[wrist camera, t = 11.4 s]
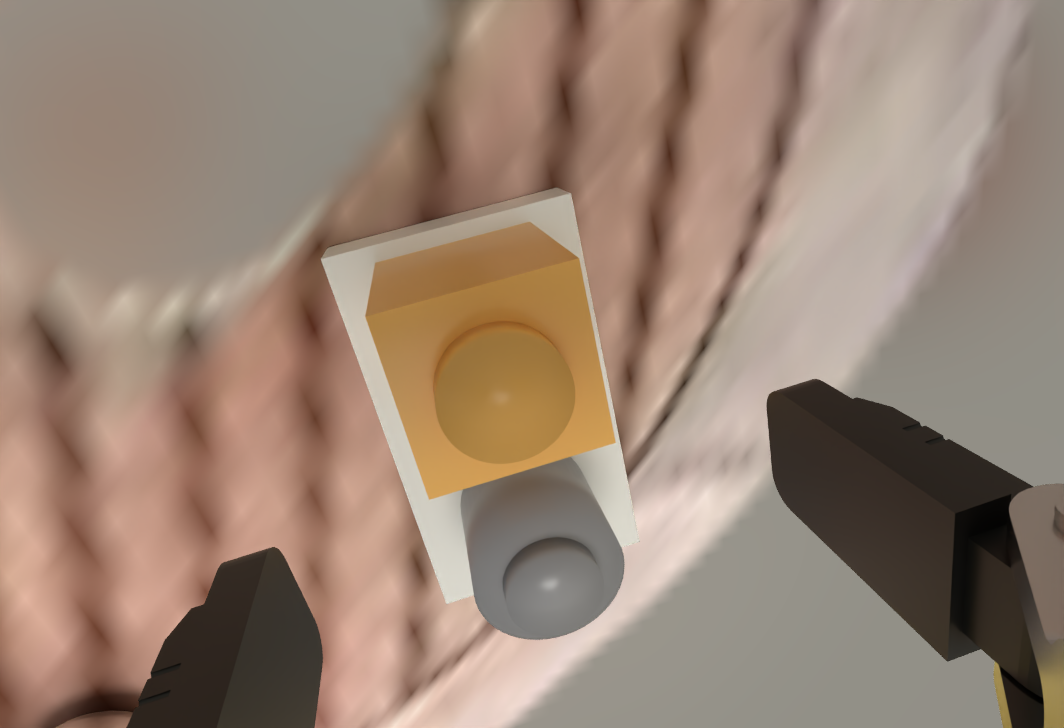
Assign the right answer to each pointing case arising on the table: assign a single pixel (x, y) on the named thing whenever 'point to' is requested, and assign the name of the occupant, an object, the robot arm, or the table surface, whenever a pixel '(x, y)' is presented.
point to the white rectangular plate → (351, 290)
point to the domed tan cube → (489, 356)
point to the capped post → (540, 551)
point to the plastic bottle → (99, 720)
